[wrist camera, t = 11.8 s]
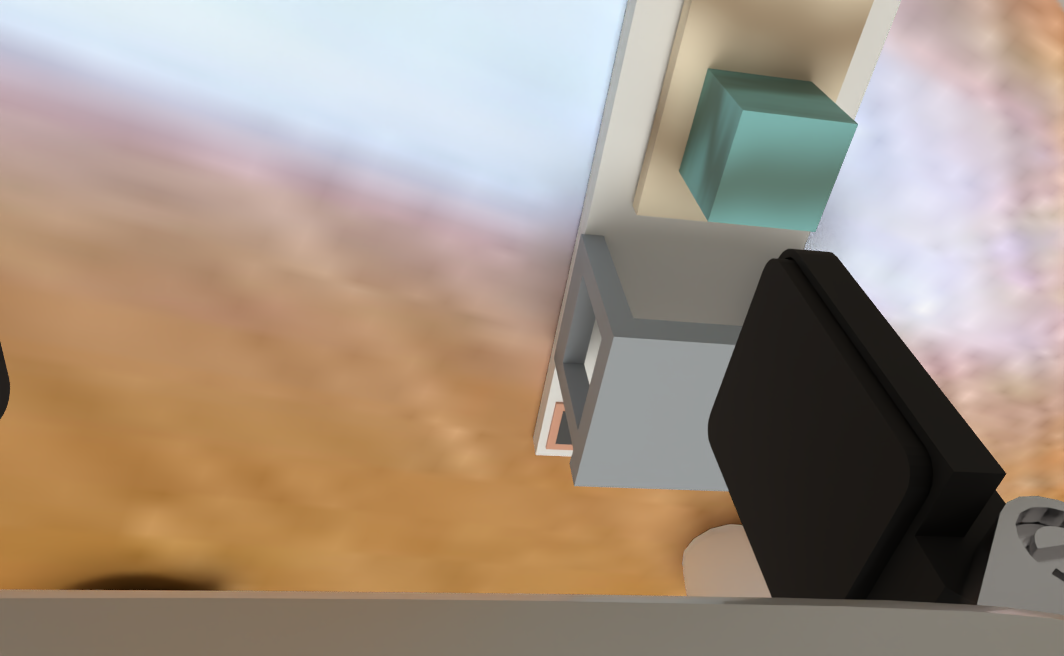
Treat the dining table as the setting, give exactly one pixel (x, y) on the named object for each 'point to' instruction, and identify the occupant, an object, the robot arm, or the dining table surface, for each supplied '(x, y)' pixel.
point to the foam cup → (723, 565)
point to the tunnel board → (656, 290)
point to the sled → (752, 113)
